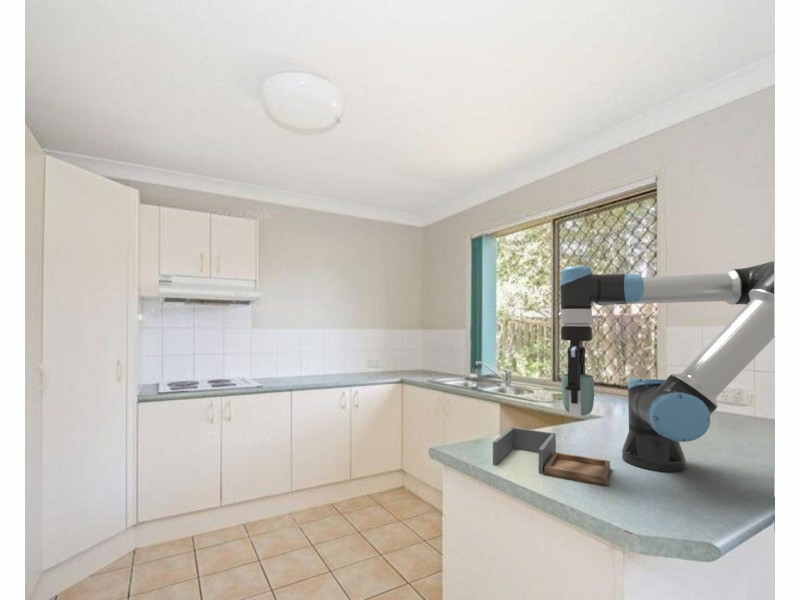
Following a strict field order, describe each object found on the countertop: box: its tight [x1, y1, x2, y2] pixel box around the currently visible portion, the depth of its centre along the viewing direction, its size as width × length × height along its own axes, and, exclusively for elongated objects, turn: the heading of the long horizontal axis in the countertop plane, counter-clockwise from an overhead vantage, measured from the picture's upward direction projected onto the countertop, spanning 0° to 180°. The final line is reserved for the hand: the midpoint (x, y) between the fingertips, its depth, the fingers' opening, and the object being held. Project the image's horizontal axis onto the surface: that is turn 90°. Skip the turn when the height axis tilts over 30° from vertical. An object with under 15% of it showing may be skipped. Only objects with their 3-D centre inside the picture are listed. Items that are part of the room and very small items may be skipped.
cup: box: [561, 373, 595, 417], centre depth 109 cm, size 8×8×10 cm
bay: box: [492, 426, 557, 475], centre depth 118 cm, size 13×18×6 cm
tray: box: [543, 452, 611, 487], centre depth 108 cm, size 14×14×2 cm
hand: (577, 412), depth 109 cm, fingers closed on cup, 8 cm apart
